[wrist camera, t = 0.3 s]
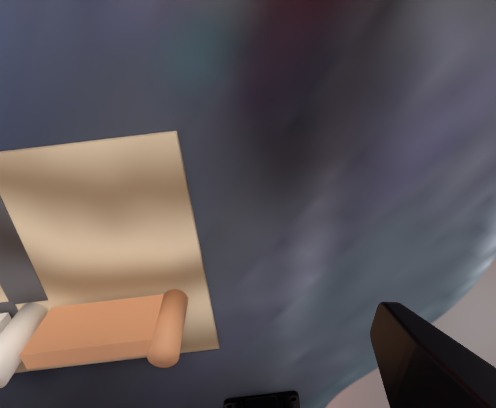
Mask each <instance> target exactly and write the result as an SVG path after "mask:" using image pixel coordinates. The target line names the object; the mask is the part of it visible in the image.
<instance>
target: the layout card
mask: <svg viewBox="0 0 496 408" xmlns="http://www.w3.org/2000/svg"><path fill="white" fill-rule="evenodd" d="M172 289H177V290H181V291H183V292H184V293H185V294H186V295H187V297H188V305H187V311H186V317H185V323H184V330H183V336H182V342H181V348H180V353H186V352H194V351H203V350H211V349H219V341H218V336H217V330H216V325H215V320H214V315H213V310H212V305H211V300H210V295H209V290H208V285H207V280H206V275H205V270H204V265H203V260H202V255H201V249H200V244H199V239H198V234H197V229H196V224H195V219H194V214H193V209H192V204H191V199H190V194H189V189H188V184H187V179H186V174H185V168H184V163H183V158H182V153H181V148H180V143H179V138H178V133H177V131H170V132H161V133H153V134H145V135H136V136H128V137H119V138H111V139H102V140H94V141H86V142H77V143H69V144H60V145H52V146H43V147H35V148H26V149H18V150H10V151H1V152H0V313H9V315H10V316H11V318H13V317H14V316H15V315H16V313H17V312H18V311H19V310H20V308H21V307H22V306H23V305H24V304H26V303H30V302H34V303H39V304H42V305H43V306H45V307H46V308H47V309H48V310H50V309H51V307H59V306H67V305H76V304H84V303H92V302H101V301H109V300H118V299H126V298H134V297H143V296H151V295H160V294H164V293H165V292H167V291H169V290H172ZM144 357H147V355H143V356H135V357H126V358H118V359H110V360H101V361H93V362H85V363H76V364H68V365H59V366H51V367H43V368H34V369H26V367H25V365H24V363H23V361H21V363H20V365H19V366H18V368H17V369H16V371H15V372H14V373H18V372H26V371H35V370H43V369H52V368H60V367H68V366H77V365H85V364H93V363H102V362H110V361H119V360H127V359H135V358H144Z"/></svg>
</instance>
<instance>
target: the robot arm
mask: <svg viewBox="0 0 496 408" xmlns="http://www.w3.org/2000/svg"><path fill="white" fill-rule="evenodd" d="M370 337H371V342H372V346H373V349H374V353H375V356H376V360H377V364H378V367H379V370H380V374H381V378H382V381H383V385H384V388H385V392H386V395H387V399H388V402H389V405H390V408H496V368H495V367H494V366H492V365H491V364H489V363H488V362H486V361H485V360H483V359H482V358H480V357H479V356H477V355H476V354H474V353H473V352H471V351H470V350H468V349H467V348H465V347H464V346H463V345H461V344H460V343H458V342H457V341H455V340H453V339H452V338H451V337H449V336H448V335H446V334H445V333H443V332H442V331H440V330H439V329H437V328H436V327H435V326H433V325H432V324H430V323H429V322H427V321H426V320H424V319H423V318H421V317H420V316H418V315H417V314H415V313H414V312H412V311H411V310H409V309H408V308H406V307H405V306H404V305H402V304H400V303H398V302H381V303H380V304H379V305H378V307H377V310H376V313H375V317H374V320H373V323H372V327H371V331H370ZM224 408H300V403H299V395H298V393H297V392H296V391H289V392H281V393H272V394H264V395H256V396H247V397H239V398H230V399H226V400H225V401H224Z"/></svg>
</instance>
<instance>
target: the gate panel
mask: <svg viewBox="0 0 496 408" xmlns="http://www.w3.org/2000/svg"><path fill="white" fill-rule="evenodd" d="M187 305H188V297H187V295H186V294H185V293H184V292H183V291H181V290H177V289H172V290H169V291H167V292H165V293H164V294H160V295H151V296H143V297H134V298H126V299H118V300H109V301H101V302H92V303H84V304H76V305H67V306H59V307H51V309H50V310H49V312H48V313H47V315H46V316H45V318H44V319H43V321H42V322H41V324H40V325H39V326H38V328H37V329H36V331H35V332H34V334H33V335H32V337H31V338H30V340H29V341H28V343H27V344H26V346H25V347H24V349H23V350H22V352H21V353H20V354H19V356H20V358H21V360H22V361H23V363H24V365H25V367H26V369H34V368H43V367H51V366H59V365H68V364H76V363H85V362H93V361H101V360H110V359H118V358H126V357H135V356H143V355H147V359H148V361H149V362H150V363H151V364H152V365H154V366H157V367H161V368H167V367H171V366H173V365H175V364H176V363H177V362H178V360H179V355H180V348H181V342H182V336H183V330H184V323H185V317H186V311H187Z"/></svg>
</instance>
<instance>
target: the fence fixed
mask: <svg viewBox="0 0 496 408" xmlns="http://www.w3.org/2000/svg"><path fill="white" fill-rule="evenodd" d="M48 312H49V310H48V309H47V308H46V307H45V306H43V305H42V304H39V303H34V302H30V303H26V304H24V305H23V306H22V307H21V308H20V310H19V311H18V312H17V313H16V315H15V316H14V317H13V318H11V316H10V315H9V313H0V388H2V387H4V386H5V385H6V384H7V383H8V381H9V380H10V378H11V377H12V375H13V374H14V372H15V371H16V369H17V368H18V366H19V365H20V363H21V361H22V360H21V358H20V356H19V354H20V353H21V352H22V350H23V349H24V347H25V346H26V344H27V343H28V341H29V340H30V338H31V337H32V335H33V334H34V332H35V331H36V329H37V328H38V326H39V325H40V324H41V322H42V321H43V319H44V318H45V316H46V315H47V313H48Z"/></svg>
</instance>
